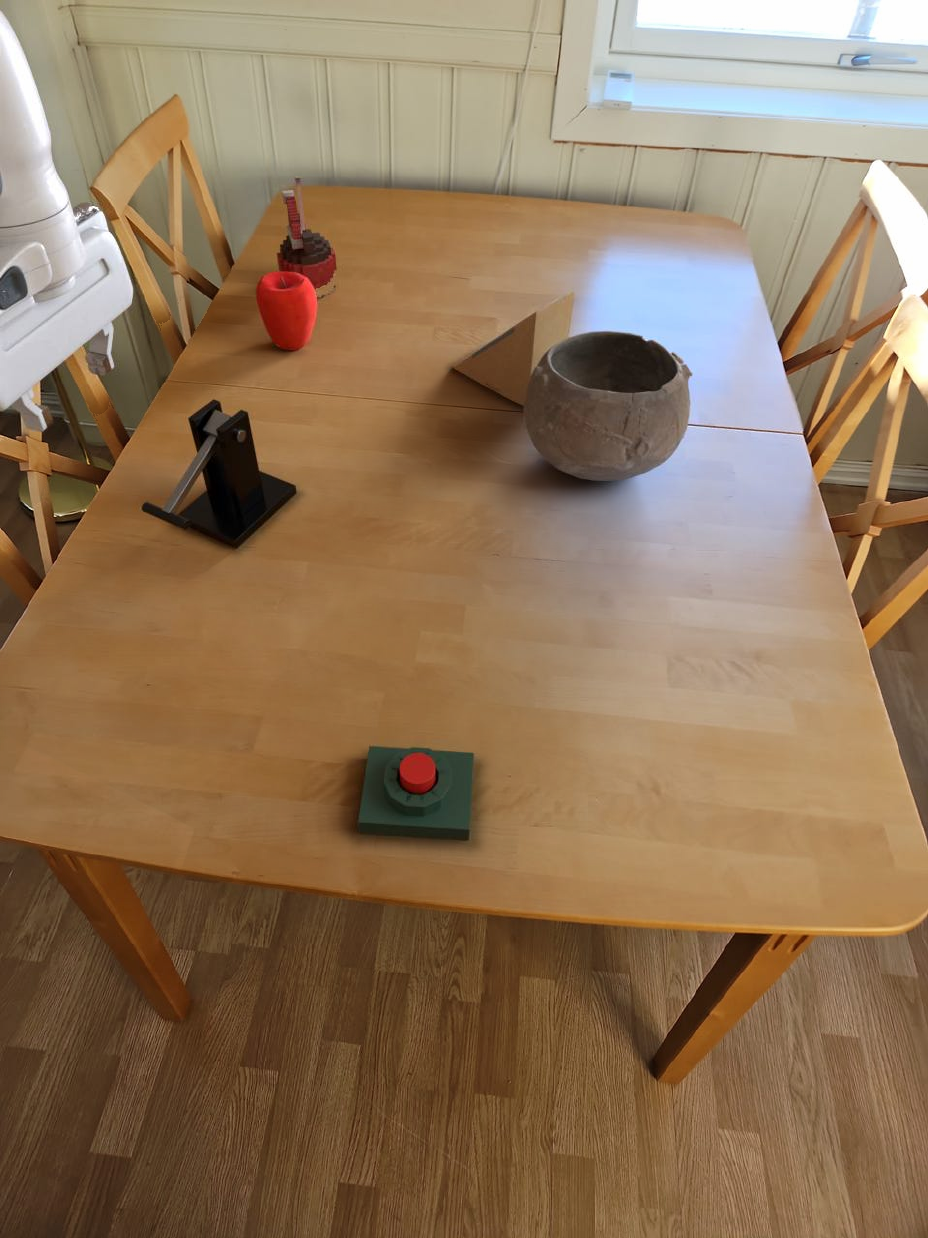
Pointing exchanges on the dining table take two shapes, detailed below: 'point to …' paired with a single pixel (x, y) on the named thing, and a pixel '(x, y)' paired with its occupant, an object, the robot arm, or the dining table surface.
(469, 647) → the dining table surface
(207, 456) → the lever
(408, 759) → the button
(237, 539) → the bracket
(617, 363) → the clay pot
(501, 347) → the sandwich container
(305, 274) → the cake
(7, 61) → the robot arm
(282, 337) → the apple
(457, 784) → the button box
